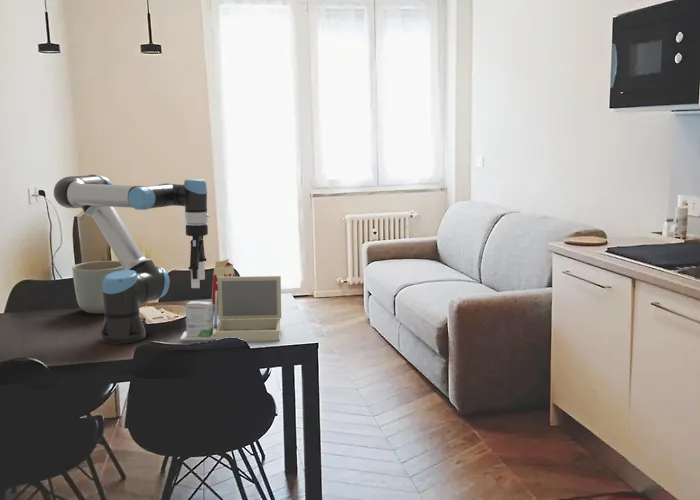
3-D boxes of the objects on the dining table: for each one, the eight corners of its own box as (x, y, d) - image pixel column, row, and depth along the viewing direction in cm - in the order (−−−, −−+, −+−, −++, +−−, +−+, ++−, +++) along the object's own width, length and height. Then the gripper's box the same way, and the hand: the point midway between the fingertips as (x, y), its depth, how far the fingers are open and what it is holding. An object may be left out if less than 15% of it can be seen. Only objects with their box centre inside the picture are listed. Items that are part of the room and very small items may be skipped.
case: (211, 341, 232) (209, 286, 229) (217, 328, 249) (215, 276, 246) (280, 340, 234) (279, 285, 231) (281, 326, 251) (280, 275, 248)
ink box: (186, 336, 237) (184, 303, 235) (190, 332, 242) (189, 300, 240) (209, 337, 236) (208, 304, 234) (214, 333, 241) (213, 301, 239)
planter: (98, 320, 260) (95, 272, 257) (64, 312, 271) (61, 266, 268) (140, 308, 278) (137, 263, 275) (107, 302, 289) (104, 259, 285)
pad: (180, 340, 234) (180, 338, 234) (184, 333, 243) (184, 331, 243) (217, 339, 235) (217, 337, 235) (220, 332, 244) (220, 330, 244)
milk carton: (240, 304, 286) (239, 258, 283) (225, 308, 278) (224, 261, 275) (224, 301, 291) (223, 256, 287) (209, 305, 283) (207, 259, 280)
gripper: (202, 228, 220) (204, 291, 224) (211, 219, 245) (213, 276, 248) (179, 228, 220) (181, 291, 223) (191, 219, 244) (192, 276, 248)
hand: (198, 283), depth 236 cm, fingers open, 13 cm apart
